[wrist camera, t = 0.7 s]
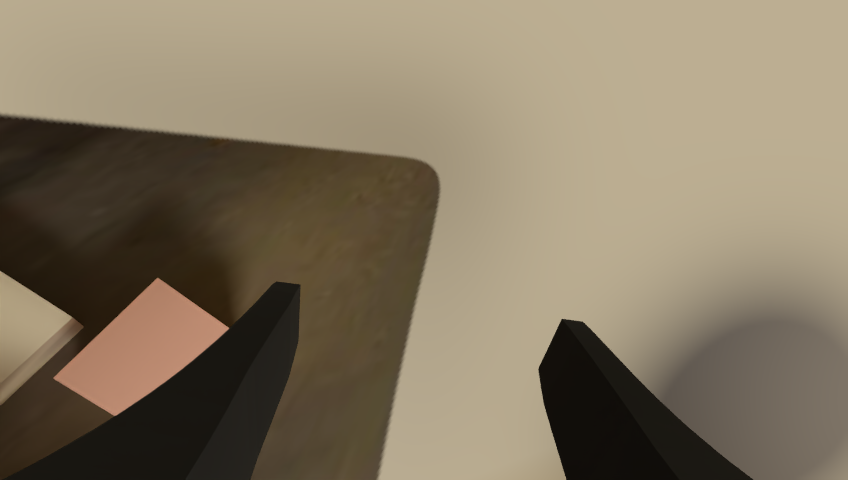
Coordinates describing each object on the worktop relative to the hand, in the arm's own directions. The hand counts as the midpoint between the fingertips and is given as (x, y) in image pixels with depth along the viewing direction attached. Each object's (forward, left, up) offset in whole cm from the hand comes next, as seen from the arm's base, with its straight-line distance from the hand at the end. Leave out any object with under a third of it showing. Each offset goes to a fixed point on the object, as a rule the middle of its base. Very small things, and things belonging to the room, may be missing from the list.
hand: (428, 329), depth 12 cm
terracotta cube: (-4, +5, -16) cm, 18 cm away
